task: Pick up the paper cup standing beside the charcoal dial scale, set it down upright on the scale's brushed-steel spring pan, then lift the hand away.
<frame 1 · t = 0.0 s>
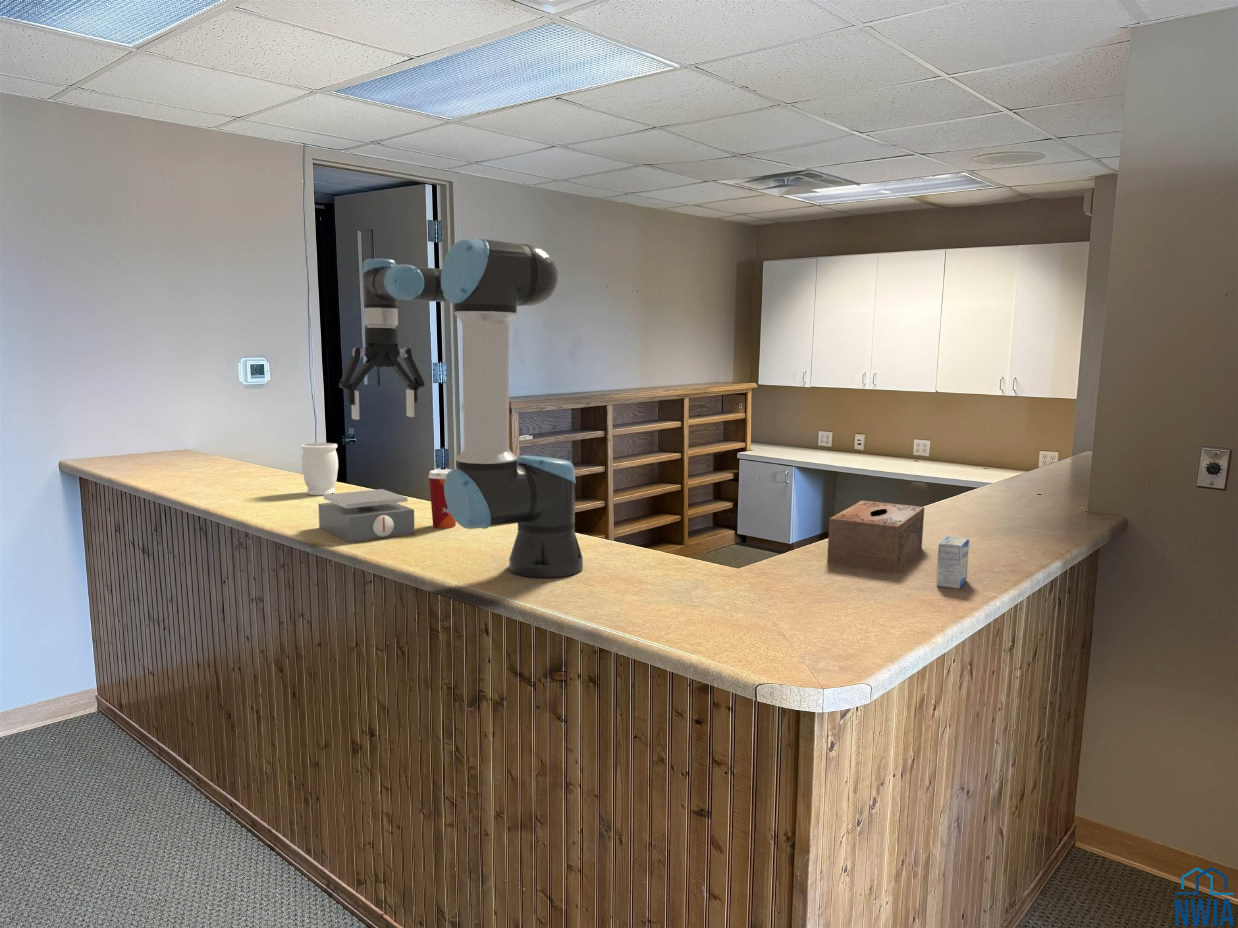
hand: (383, 418, 199), 28 cm above the worktop, tool pointing down, fingers open, 13 cm apart
jar: (321, 494, 255), on the worktop
paper cup: (444, 526, 212), on the worktop
scale pan: (365, 500, 204), point 7 cm above the worktop, slide at 0.8 cm
medicine box: (951, 584, 167), on the worktop
tissue box cover: (876, 556, 189), on the worktop
scale base: (366, 530, 205), on the worktop
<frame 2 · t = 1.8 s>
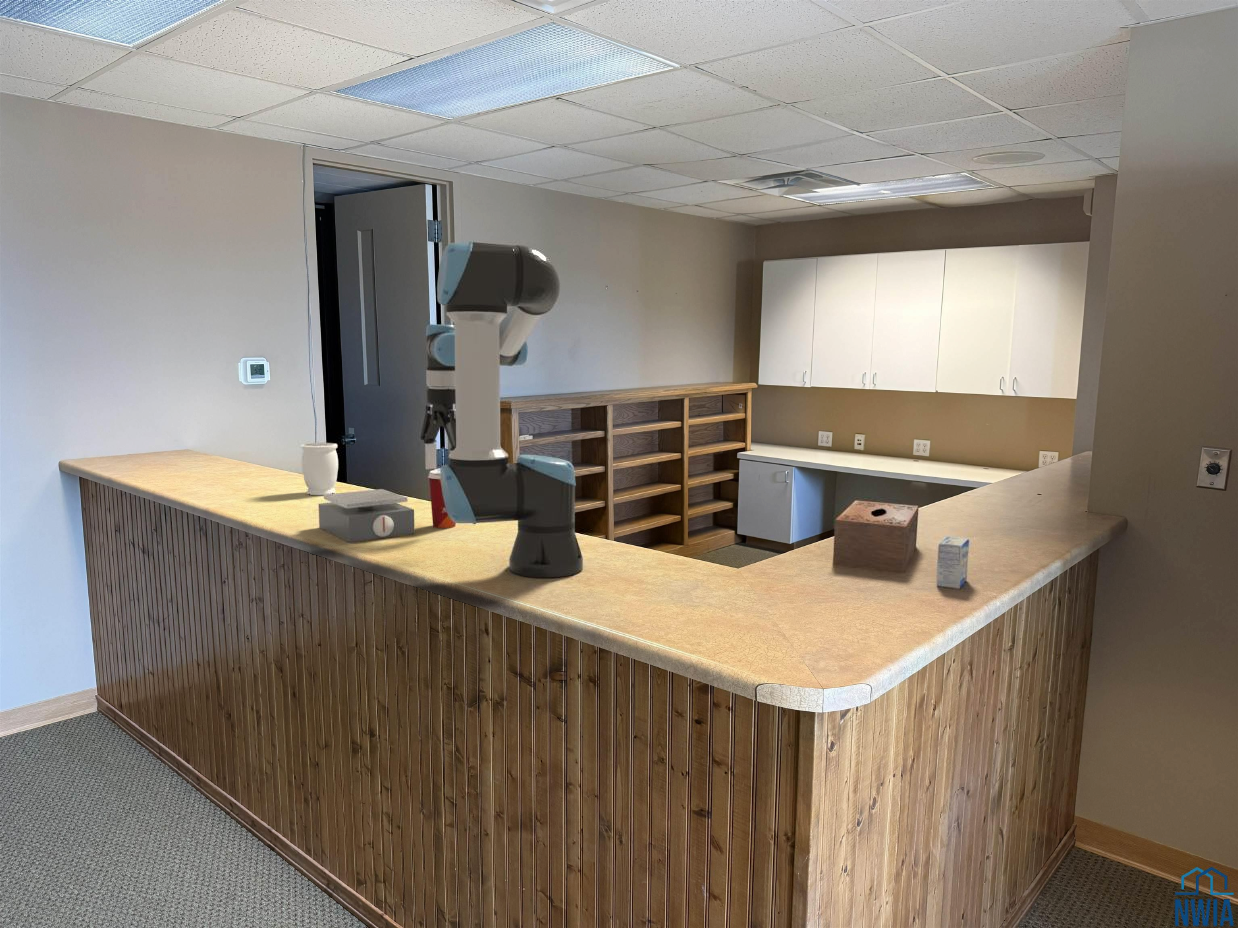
hand: (443, 472, 210), 14 cm above the worktop, tool pointing down, fingers open, 13 cm apart
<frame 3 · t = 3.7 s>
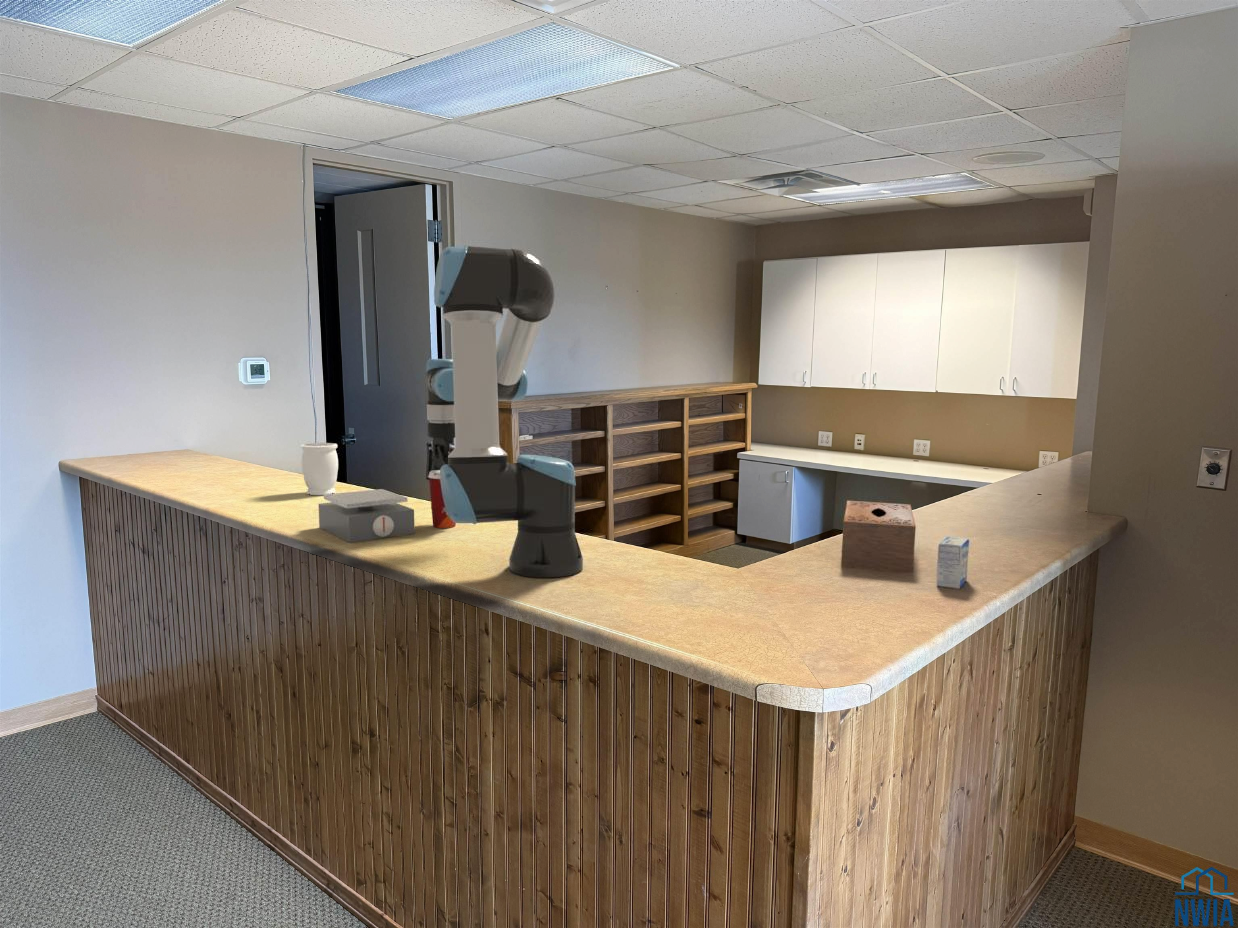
hand: (444, 511, 212), 4 cm above the worktop, tool pointing down, fingers closed on paper cup, 8 cm apart
paper cup: (444, 526, 212), on the worktop, touching gripper
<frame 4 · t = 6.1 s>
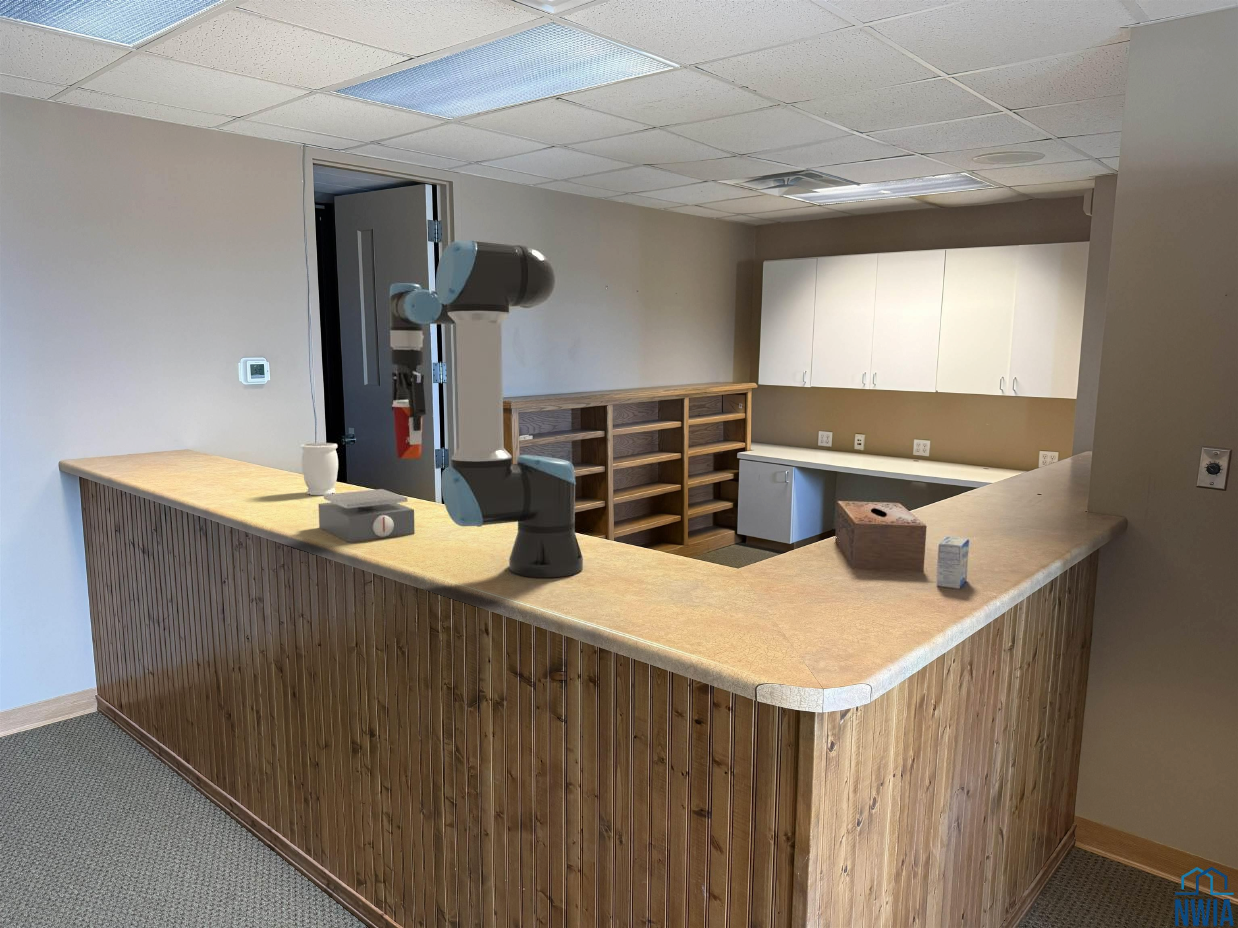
hand: (408, 442, 206), 21 cm above the worktop, tool pointing down, fingers closed on paper cup, 8 cm apart
paper cup: (409, 457, 207), point 18 cm above the worktop, touching gripper
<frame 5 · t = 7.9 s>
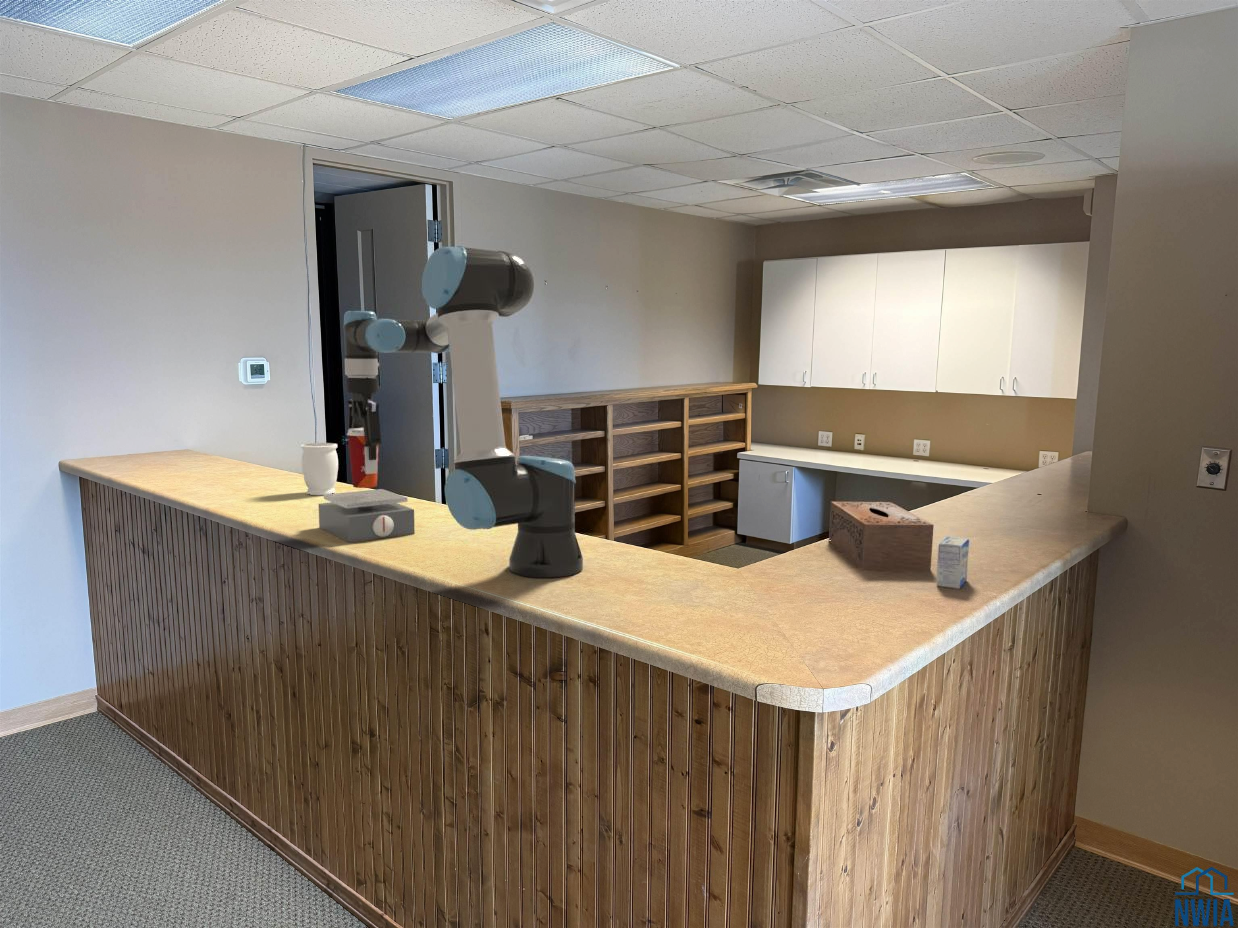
hand: (364, 471, 203), 15 cm above the worktop, tool pointing down, fingers closed on paper cup, 8 cm apart
paper cup: (365, 486, 204), point 11 cm above the worktop, touching gripper
when the fingers open (14 cm above the worktop, at t = 8.8 s): paper cup drops 2 cm, resting on scale pan.
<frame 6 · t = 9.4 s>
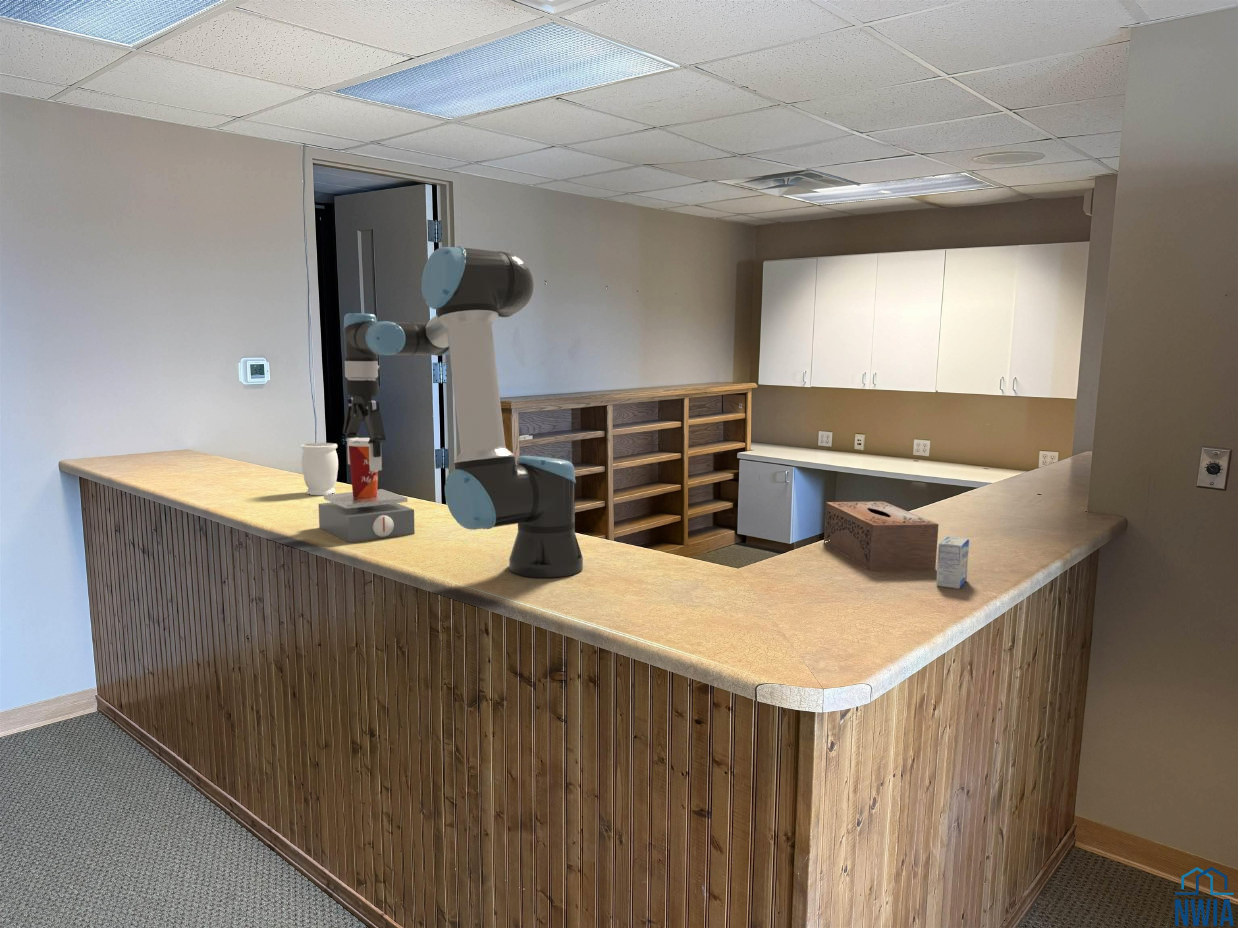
hand: (364, 467, 203), 16 cm above the worktop, tool pointing down, fingers open, 13 cm apart
paper cup: (365, 496, 204), point 8 cm above the worktop, touching scale pan
scale pan: (365, 500, 204), point 7 cm above the worktop, slide at 0.9 cm, touching paper cup
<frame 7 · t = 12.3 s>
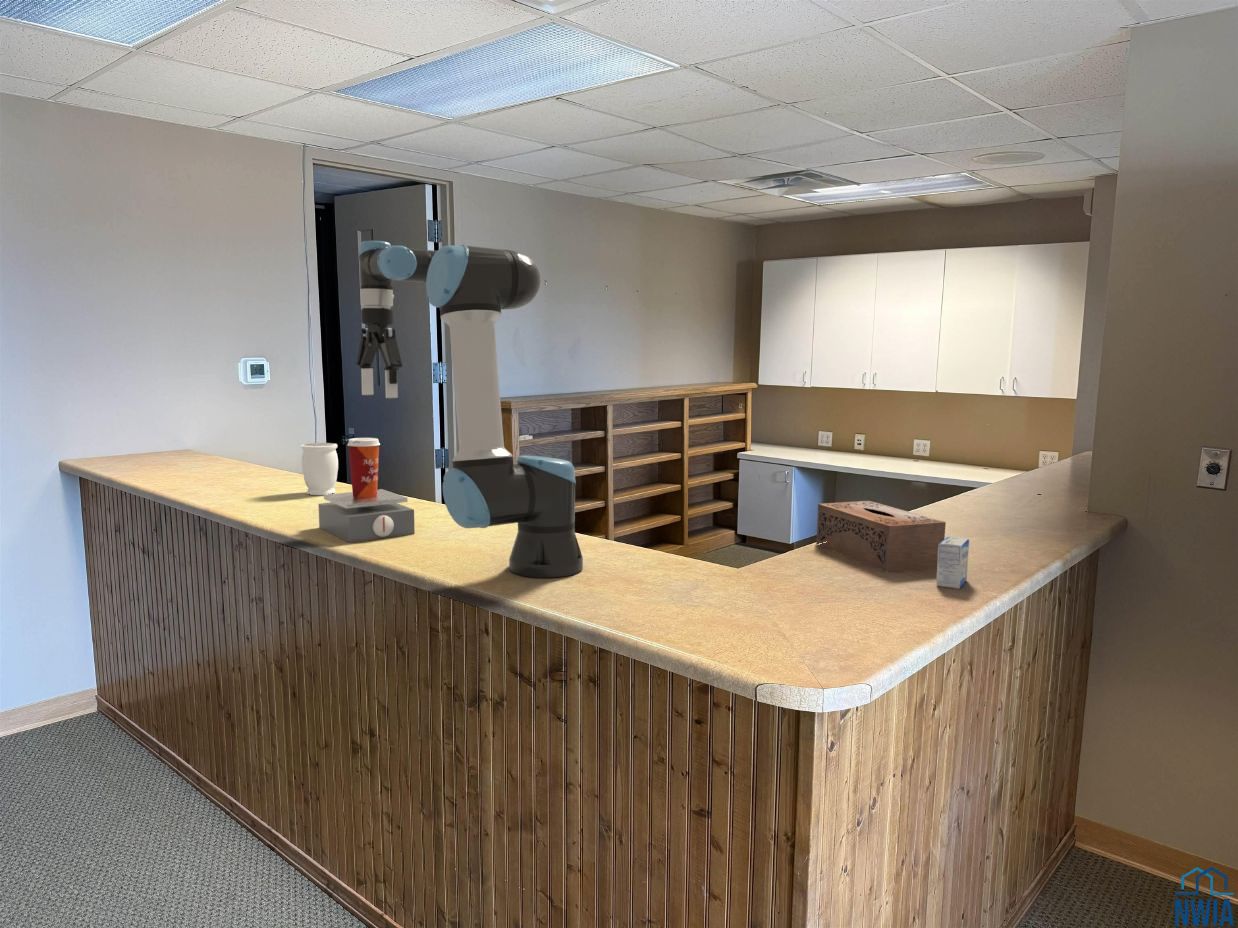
hand: (379, 396, 204), 33 cm above the worktop, tool pointing down, fingers open, 13 cm apart
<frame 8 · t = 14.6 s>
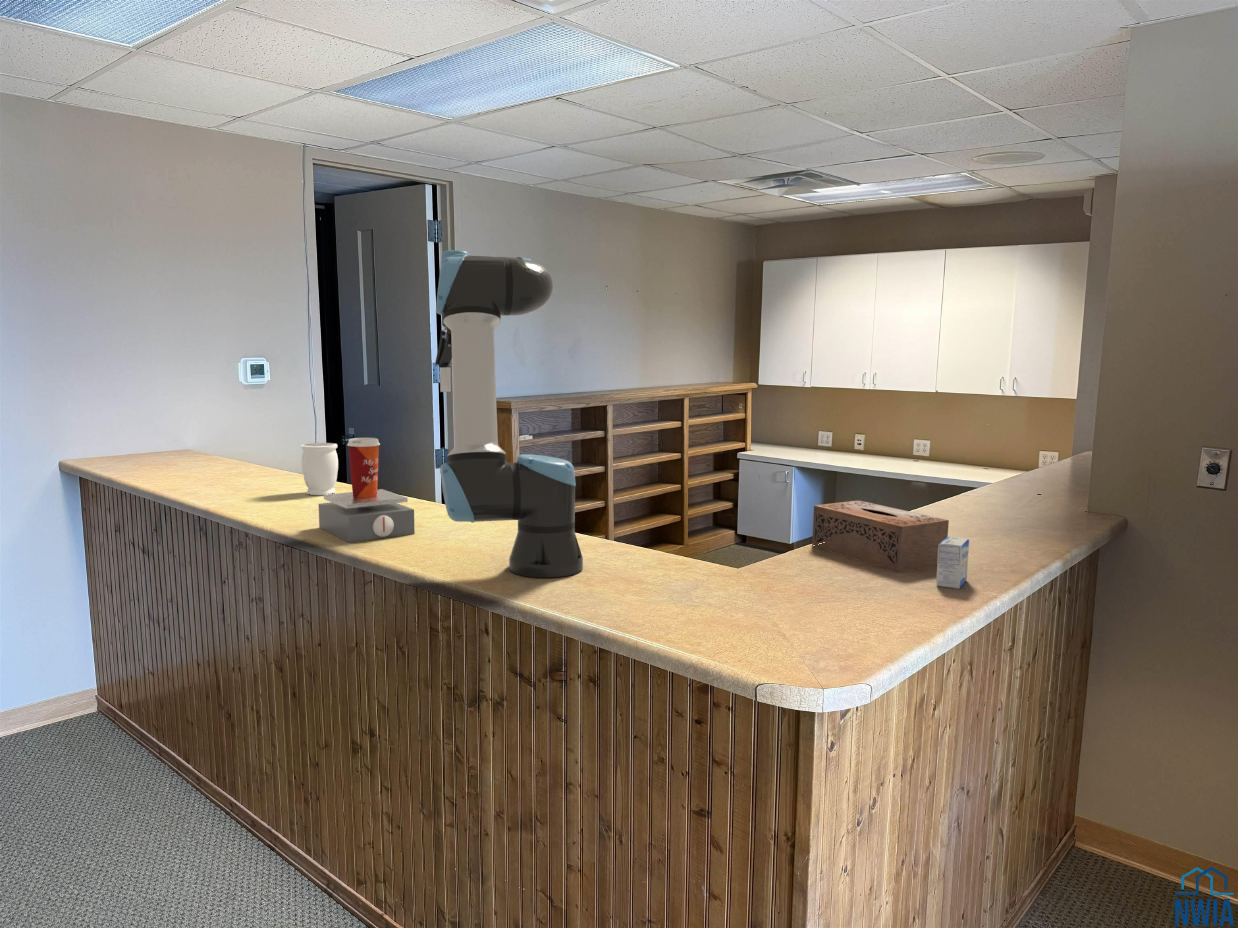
hand: (457, 393, 222), 33 cm above the worktop, tool pointing down, fingers open, 13 cm apart
at the end: paper cup inside the target area on the scale base (0.1 cm from its centre), point 8.4 cm above the scale base's base; paper cup tilted 0°; the gripper is holding nothing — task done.
